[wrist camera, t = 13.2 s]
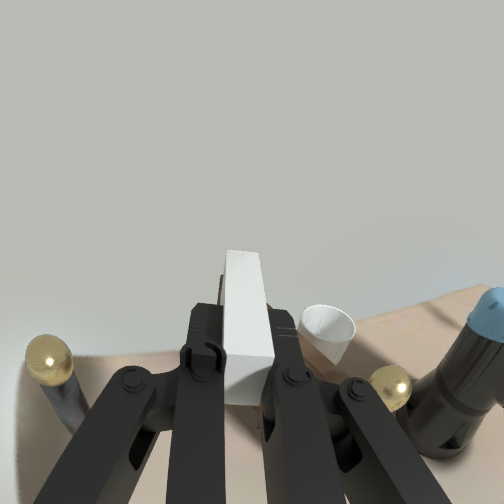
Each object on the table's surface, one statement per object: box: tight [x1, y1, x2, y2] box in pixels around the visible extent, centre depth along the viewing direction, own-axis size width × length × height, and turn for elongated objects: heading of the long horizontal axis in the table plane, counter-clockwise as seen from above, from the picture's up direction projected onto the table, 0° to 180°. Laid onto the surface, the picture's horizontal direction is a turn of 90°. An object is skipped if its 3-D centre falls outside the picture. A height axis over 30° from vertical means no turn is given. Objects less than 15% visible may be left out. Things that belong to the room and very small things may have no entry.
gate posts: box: [25, 334, 412, 437], centre depth 20 cm, size 30×6×20 cm, turn 93°
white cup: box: [297, 305, 356, 366], centre depth 40 cm, size 8×8×10 cm
